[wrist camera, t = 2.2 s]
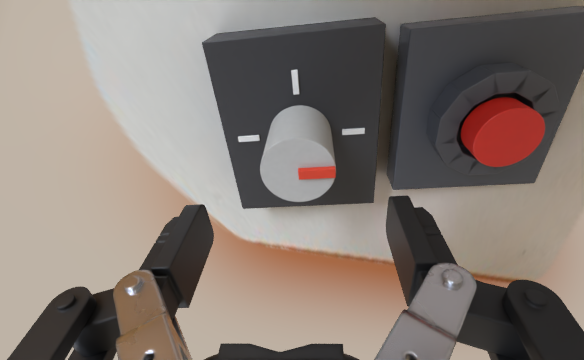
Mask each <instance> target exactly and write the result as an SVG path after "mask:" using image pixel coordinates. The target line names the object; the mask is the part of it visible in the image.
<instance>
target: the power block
mask: <svg viewBox="0 0 584 360" xmlns="http://www.w3.org/2000/svg"><path fill="white" fill-rule="evenodd" d="M583 69H584V7H582V6H574V7H564V8H554V9H544V10H534V11H525V12H515V13H505V14H495V15H485V16H475V17H465V18H455V19H445V20H435V21H425V22H415V23H406V24H401V27H400V38H399V49H398V60H397V70H396V81H395V92H394V103H393V113H392V124H391V135H390V146H389V156H388V167H387V176H388V178H389V181H390V184H391V186H392V189H393V190H401V189H421V188H442V187H463V186H484V185H505V184H525V183H535V181H536V178H537V176H538V174H539V172H540V169H541V167H542V165H543V162H544V160H545V158H546V155H547V153H548V151H549V148H550V146H551V144H552V141H553V139H554V137H555V134H556V132H557V130H558V127H559V125H560V123H561V120H562V118H563V116H564V113H565V111H566V109H567V106H568V104H569V102H570V99H571V97H572V95H573V92H574V90H575V88H576V85H577V83H578V81H579V79H580V76H581V74H582V72H583ZM500 97H509V98H514V99H517V100H519V101H520V102H522V103H524V104H525V105H527V106H529V107H530V108H532V109H534V110H535V111H537V112H538V113H539V114H540V115H541V116H542V118H543V120H544V122H545V133H544V136H543V139H542V141H541V142H540V144H539V145H538V147H537V148H536V149H535V150H534V151H533V152H532V153H531V154H530V155H528V156H527V157H526V158H524V159H522V160H521V161H519V162H517V163H514V164H511V165H508V166H502V167H492V166H487V165H484V164H482V163H480V162H479V161H478V160H477V159H476V158H475V157H474V156H473V155H472V153H471V152H470V151H469V150H468V149H467V148H466V147H465V146H464V144H463V142H462V139H461V129H462V126H463V123H464V121H465V119H466V118H467V116H468V115H469V114H470V113H471V112H472V111H473V110H474V109H475V108H476V107H478V106H479V105H481V104H482V103H484V102H486V101H489V100H491V99H495V98H500Z"/></svg>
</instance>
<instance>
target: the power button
mask: <svg viewBox="0 0 584 360" xmlns="http://www.w3.org/2000/svg"><path fill="white" fill-rule="evenodd" d="M544 133H545V122H544V120H543V118H542V116H541V115H540V114H539V113H538V112H537V111H535V110H534V109H532V108H530V107H529V106H527V105H525V104H524V103H522V102H520V101H519V100H517V99H514V98H509V97H500V98H495V99H491V100H489V101H486V102H484V103H482V104H481V105H479V106H478V107H476V108H475V109H474V110H473V111H472V112H471V113H470V114H469V115H468V116H467V118H466V119H465V121H464V123H463V126H462V129H461V139H462V142H463V144H464V146H465V147H466V148H467V149H468V150H469V151H470V152H471V153H472V155H473V156H474V157H475V158H476V159H477V160H478V161H479V162H480V163H482V164H484V165H487V166H492V167H502V166H508V165H511V164H514V163H517V162H519V161H521V160H522V159H524V158H526V157H527V156H528V155H530V154H531V153H532V152H533V151H534V150H535V149H536V148H537V147H538V145H539V144H540V142H541V141H542V139H543V136H544Z"/></svg>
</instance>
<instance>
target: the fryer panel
mask: <svg viewBox="0 0 584 360" xmlns="http://www.w3.org/2000/svg"><path fill="white" fill-rule="evenodd" d="M385 28H386V24H385V23H383V22H382V21H380V20H379V19H377V18H375V17H373V18H364V19H354V20H345V21H335V22H325V23H316V24H306V25H296V26H287V27H277V28H268V29H258V30H248V31H239V32H229V33H219V34H215V35H214V36H212V37H210V38H209V39H207V40H206V41H204V42H202V45H203V49H204V53H205V57H206V61H207V65H208V69H209V73H210V77H211V81H212V85H213V89H214V93H215V97H216V101H217V105H218V109H219V114H220V118H221V122H222V126H223V130H224V134H225V138H226V142H227V146H228V150H229V154H230V158H231V162H232V166H233V170H234V174H235V178H236V183H237V187H238V191H239V195H240V199H241V203H242V207H243V209H245V208H268V207H290V206H313V205H336V204H358V203H374V190H375V176H376V161H377V146H378V131H379V117H380V102H381V87H382V72H383V58H384V43H385ZM297 105H302V106H308V107H312V108H314V109H316V110H318V111H319V112H321V113H322V114H323V115H324V116H325V117H326V119H327V120H328V122H329V124H330V128H331V134H332V141H333V149H334V157H335V164H336V178H335V179H334V182H333V184H332V186H331V187H330V188H329V189H328V190H327V191H326V192H325V193H324V194H323V195H321V196H320V197H318V198H316V199H313V200H310V201H305V202H293V201H288V200H285V199H282V198H280V197H278V196H276V195H274V194H273V193H272V192H271V191H270V190H269V189H268V188H267V187H266V186H265V184H264V182H263V180H262V178H261V174H260V164H261V160H262V156H263V152H264V149H265V145H266V141H267V137H268V134H269V130H270V126H271V123H272V121H273V120H274V118H275V117H276V116H277V115H278V114H279V113H280V112H281V111H283V110H284V109H286V108H289V107H292V106H297Z"/></svg>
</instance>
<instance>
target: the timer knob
mask: <svg viewBox="0 0 584 360" xmlns="http://www.w3.org/2000/svg"><path fill="white" fill-rule="evenodd" d="M260 174H261V178H262V180H263V182H264V184H265V186H266V187H267V188H268V189H269V190H270V191H271V192H272V193H273V194H274V195H276V196H278V197H280V198H282V199H285V200H288V201H293V202H305V201H310V200H313V199H316V198H318V197H320V196H321V195H323V194H324V193H325V192H326V191H327V190H328V189H329V188H330V187H331V186H332V184H333V182H334V179H335V178H336V164H335V157H334V149H333V141H332V134H331V128H330V124H329V122H328V120H327V119H326V117H325V116H324V115H323V114H322V113H321V112H319V111H318V110H316V109H314V108H312V107H308V106H302V105H297V106H292V107H289V108H286V109H284V110H283V111H281V112H280V113H279V114H278V115H277V116H276V117H275V118H274V120H273V121H272V123H271V126H270V130H269V134H268V137H267V141H266V145H265V149H264V152H263V156H262V160H261V164H260Z"/></svg>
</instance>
